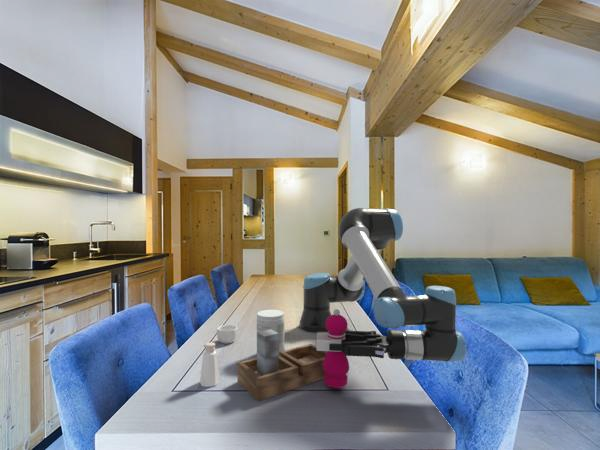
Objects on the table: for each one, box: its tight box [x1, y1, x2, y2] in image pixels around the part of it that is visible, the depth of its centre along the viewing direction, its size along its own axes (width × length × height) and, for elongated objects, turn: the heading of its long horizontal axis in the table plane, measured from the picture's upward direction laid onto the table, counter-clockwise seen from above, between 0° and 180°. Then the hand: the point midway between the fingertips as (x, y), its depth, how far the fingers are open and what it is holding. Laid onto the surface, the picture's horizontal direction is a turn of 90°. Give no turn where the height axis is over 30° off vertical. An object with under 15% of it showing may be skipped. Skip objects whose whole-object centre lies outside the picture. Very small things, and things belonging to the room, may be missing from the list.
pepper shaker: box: [199, 341, 220, 388], centre depth 92 cm, size 5×5×11 cm
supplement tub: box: [256, 309, 286, 352], centre depth 112 cm, size 10×10×15 cm
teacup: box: [216, 324, 238, 345], centre depth 126 cm, size 10×8×5 cm
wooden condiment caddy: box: [237, 329, 327, 402], centre depth 96 cm, size 30×12×14 cm, turn 126°
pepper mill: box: [323, 308, 350, 389], centre depth 89 cm, size 7×7×20 cm
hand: (317, 341), depth 89 cm, fingers closed on pepper mill, 5 cm apart
